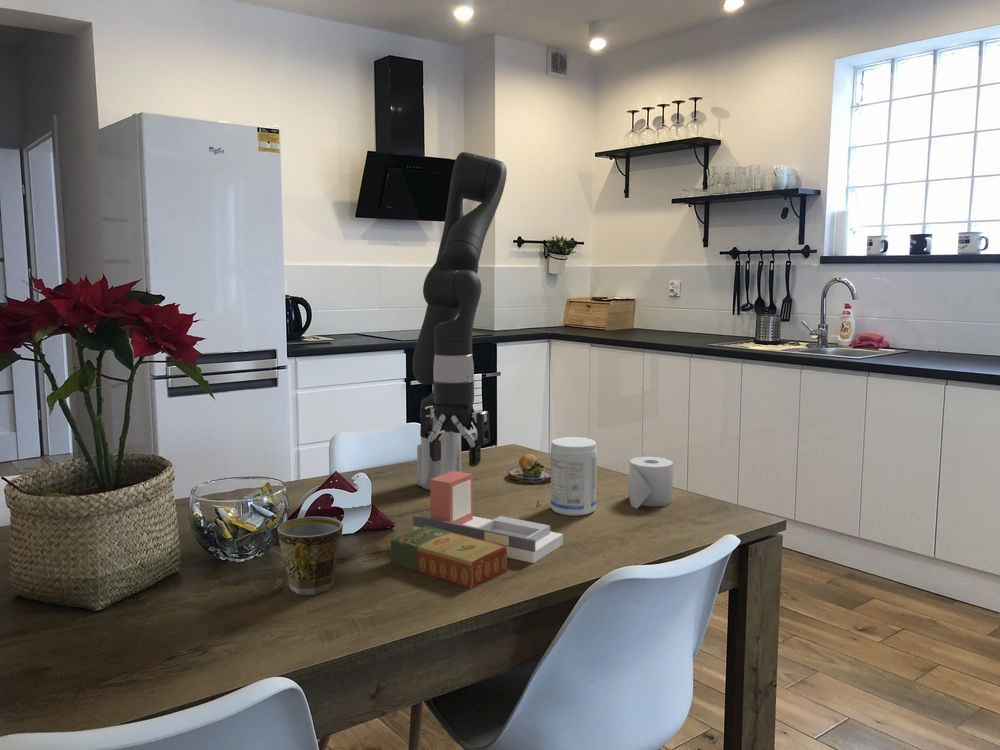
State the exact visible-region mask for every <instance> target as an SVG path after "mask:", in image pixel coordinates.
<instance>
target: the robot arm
mask: <svg viewBox="0 0 1000 750" xmlns="http://www.w3.org/2000/svg"><path fill="white" fill-rule="evenodd" d="M506 180H507V166H506V163H505V162H503V161H501V160H499V159H495V158H491V157H487V156H483V155H479V154H475V153H471V152H466V151H463V152H460V153H459V154H458V155H457V157H456V158H455V161H454V163H453V168H452V172H451V178H450V184H449V190H448V191H449V192H448V198H447V206H446V213H445V218H444V224H443V225H444V226H443V230H442V234H441V237H440V238H441V239H440V244H439V247H438V252H437V256H436V261H435V263H434V264H433V265H432V266H431V268H430V270H429V271H428V273H427V274H426V276H425V279H424V282H423V285H422V286H423V287H422V295H423V299H424V300H425V302H426V303H427V305H426V309H425V310H426V311H425V314H424V318H423V322H422V325H421V328H420V332H419V335H418V338H417V341H416V345H415V347H414V351H413V356H412V372H413V377H414V379H415V380H416V381H417V382H418V383H419V384H421V385H429V386H430V385H433V391H432V392H431V393H430V394H429V395H428V396H426V397H425V398H423V399H422V400H421V402H420V429H419V430H420V433H419V434H420V444H418V445H417V446H416V450H417V453H416V454H417V457H416V458H417V461H416V463H417V486H420V487H422V489H424V490H429V491H430V479H433V478H435V477H438V476H441V475H444V474H446V473H449V472H452V471H457V472H462V438H464V439H466V441H467V443H468V445H469V446H470V447H468V466H469V467H471V468H473V467H476V466H478V465H479V463H481V459H482V457H481V448H482V447H481V446H482V445H486V444H488V443H490V442H491V432H490V431H491V430H490V428H491V427H490V413H489V412H488V411H487V410H483V411H475V410H474V403H475V371H474V370H475V369H474V368H475V366H474V360H473V359H474V358H473V328H474V323H475V322H474V321H475V319H476V313H477V310H478V306H479V302H480V298H481V294H482V281H481V279H480V277H479V276H478V273H479V272H478V271H479V267H480V266H479V264H480V263H479V262H480V259H481V253H482V250H483V245H484V242H485V238H486V235H487V234H488V233H487V232H488V231H489V228H490V226H491V224H492V222H493V219H494V217H495V214H496V212H497V210H498V207H499V204H500V202H501V200H502V197H503V193H504V190H505V187H506V182H507V181H506ZM464 200H468V201H469V200H470V201H473V202H477V203H479V204H478V205H477V206H476V207H474V209H472V210H471V211H469V212H467V213H466V214H464ZM473 421H474V423H475V424H476V425H474V423H473Z"/></svg>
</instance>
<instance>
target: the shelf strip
mask: <svg viewBox="0 0 1000 750" xmlns="http://www.w3.org/2000/svg"><path fill="white" fill-rule="evenodd" d="M412 520H413V522H412V525H413V526H412V528H413V529H412V531H414V530H417V529H419V528H422V527H424V526H430V527H434V528H438V529H441V530H445V531H449V532H453V533H457V534H461V535H465V536H469V537H472V538H476V539H480V540H484V541H488V542H492V543H496V544H500V545H504V546H506V549H507V559H508V558H509V559H512V560H513V559H514V560H518V561H522V562H528V563H531V564H535V563H537V562H538V561H539V560H541V559H542V558H544V557H546V556H548V555H549V554H550V553H552V552H554V551H555V550H557V549H559V548H560V547H561V546H563V545H564V533H559V532H555V531H551V525H550V524H544V523H538V522H533V521H528V520H523V519H518V518H513V517H508V516H504V515H500V516H498V517H496V518H494V519H489V518H484V517H480V516H479V517H478V516H475V515H474V516H473V519H472V520H470V521H468V522H466V523H464V524H457V523H452V522H447V521H443V520H438V519H433V518H431V517H428V516H423V515H418V514H413V517H412Z"/></svg>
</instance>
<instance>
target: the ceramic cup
mask: <svg viewBox="0 0 1000 750" xmlns="http://www.w3.org/2000/svg"><path fill="white" fill-rule="evenodd" d="M343 527H344V525H343V522H342V521H340V520H339V519H337V518H334V517H329V516H318V515H317V516H305V517H297V518H294V519H289V520H287V521H285V522H283V523H281V524H280V525H278V527H277V537H278V541H279V545H280V546H279V547H280V550H281V554H282V558H283V563H284V568H285V572H286V576H287V581H288V586H289V588H290V590H291V591H292V592H294V593H296V594H297V595H301V596H302V595H303V596H305V595H306V596H315V595H319V594H322V593H326V592H328V591H330V590H331V588H332V586H333V585H334V582H335V579H336V578H335V577H336V571H337V565H338V558H339V551H340V547H341V542H342V536H343Z"/></svg>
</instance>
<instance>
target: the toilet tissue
mask: <svg viewBox="0 0 1000 750" xmlns="http://www.w3.org/2000/svg"><path fill="white" fill-rule="evenodd" d="M628 466H629V470H628V472H629V473H628V500H629V503H630V506H631V507H633V508H634V509H636V510H638V508H639V507H641V506H647V507H664V506H668V505H669V504H672V503H673V483H674V482H673V479H674V478H673V477H674V463H673V461H672V460H671V459H667V458H664V457H658V456H638V457H637V456H636V457H633V458H631V459H629V465H628Z"/></svg>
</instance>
